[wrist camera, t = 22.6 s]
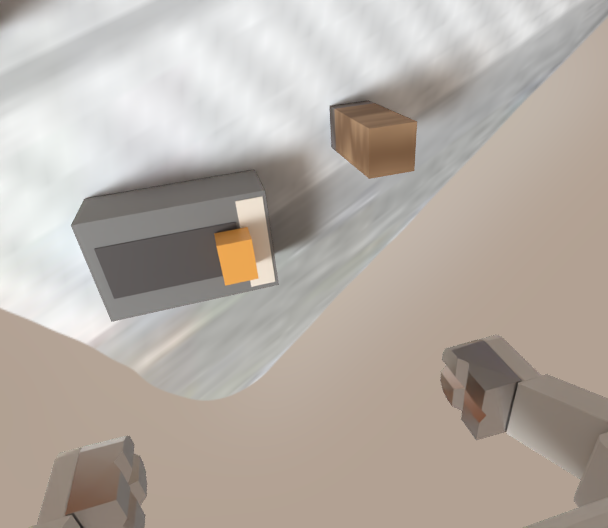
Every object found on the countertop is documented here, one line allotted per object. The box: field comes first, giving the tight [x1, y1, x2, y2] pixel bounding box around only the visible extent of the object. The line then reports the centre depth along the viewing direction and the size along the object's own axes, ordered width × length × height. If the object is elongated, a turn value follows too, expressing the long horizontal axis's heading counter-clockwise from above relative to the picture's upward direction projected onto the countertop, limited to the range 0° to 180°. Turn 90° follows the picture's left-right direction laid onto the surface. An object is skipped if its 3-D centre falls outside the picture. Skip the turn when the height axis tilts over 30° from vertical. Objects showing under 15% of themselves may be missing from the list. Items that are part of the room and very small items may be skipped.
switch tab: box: [214, 227, 259, 286], centre depth 38 cm, size 4×3×2 cm
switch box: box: [71, 170, 279, 322], centre depth 41 cm, size 10×16×6 cm, turn 96°
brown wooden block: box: [330, 101, 417, 179], centre depth 38 cm, size 4×4×10 cm
